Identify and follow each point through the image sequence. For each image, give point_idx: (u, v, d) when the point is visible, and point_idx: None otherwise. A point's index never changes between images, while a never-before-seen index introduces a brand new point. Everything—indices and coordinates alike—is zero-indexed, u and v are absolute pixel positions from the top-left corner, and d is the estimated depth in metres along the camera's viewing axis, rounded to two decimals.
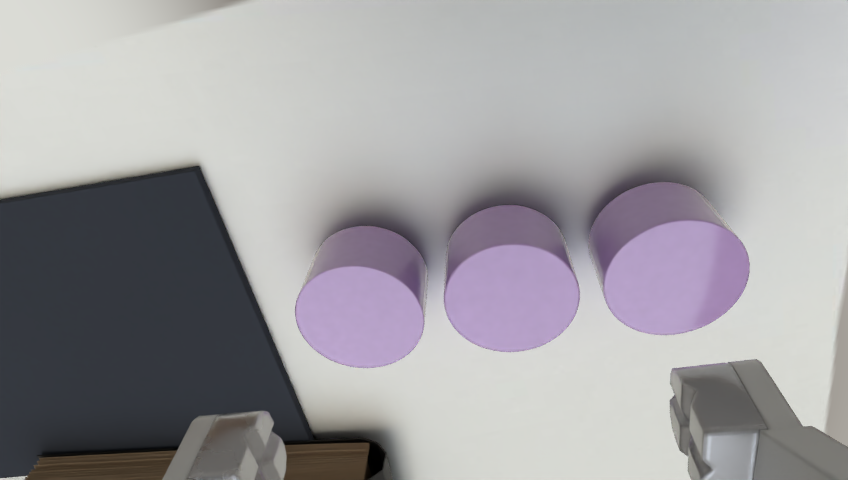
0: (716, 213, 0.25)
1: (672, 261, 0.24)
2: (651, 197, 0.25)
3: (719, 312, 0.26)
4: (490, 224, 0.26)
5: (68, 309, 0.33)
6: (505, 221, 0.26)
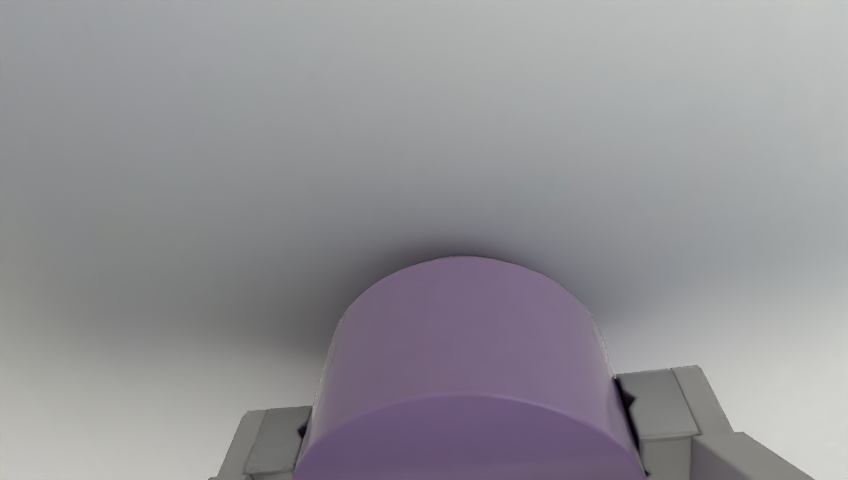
0: (327, 379, 0.10)
1: None
2: None
3: (580, 434, 0.08)
4: None
5: None
6: None
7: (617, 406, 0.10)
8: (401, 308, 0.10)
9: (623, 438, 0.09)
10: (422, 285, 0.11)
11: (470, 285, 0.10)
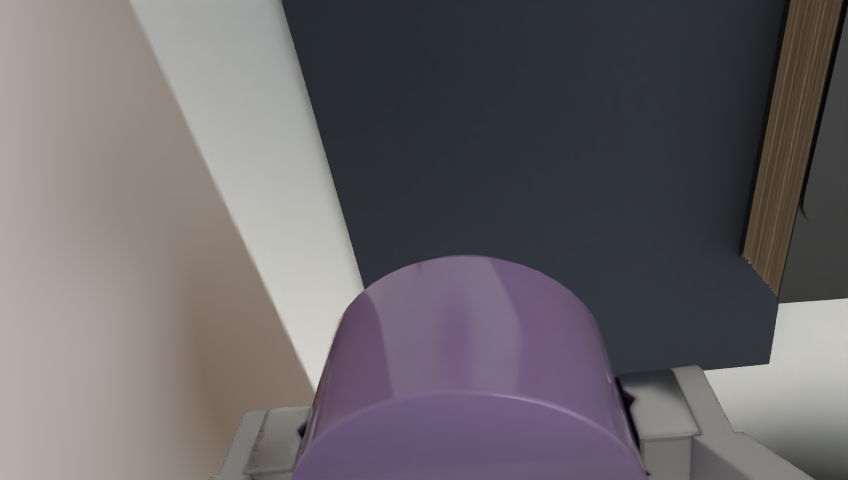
0: (327, 378, 0.10)
1: None
2: None
3: (580, 433, 0.08)
4: None
5: (480, 126, 0.24)
6: None
7: (618, 405, 0.10)
8: (401, 306, 0.10)
9: (624, 437, 0.09)
10: (423, 283, 0.11)
11: (470, 284, 0.10)
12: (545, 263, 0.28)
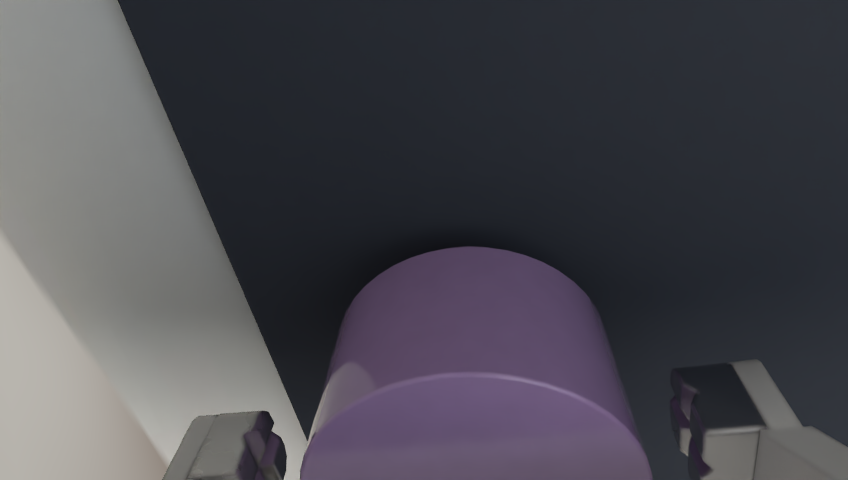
0: (336, 364, 0.11)
1: None
2: None
3: (583, 415, 0.09)
4: None
5: (516, 99, 0.11)
6: None
7: (619, 390, 0.10)
8: (408, 295, 0.11)
9: (625, 419, 0.09)
10: (429, 273, 0.11)
11: (476, 273, 0.11)
12: (637, 372, 0.14)
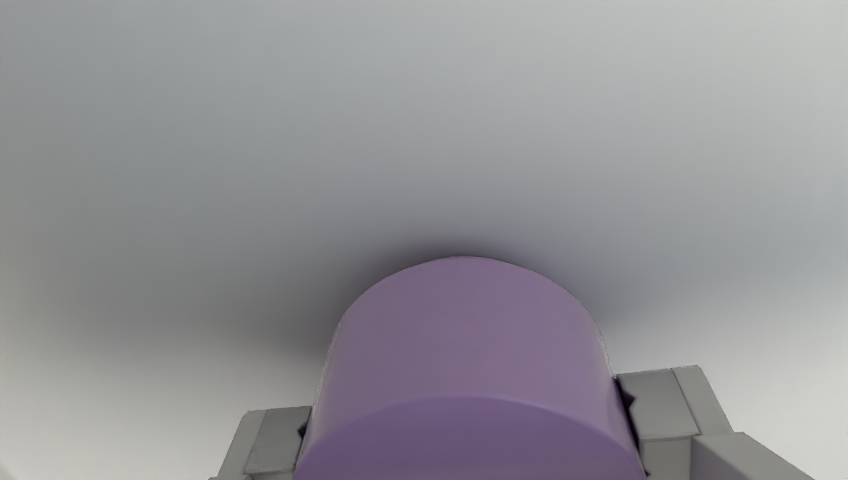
0: None
1: None
2: None
3: None
4: None
5: None
6: None
7: None
8: None
9: None
10: None
11: None
12: None
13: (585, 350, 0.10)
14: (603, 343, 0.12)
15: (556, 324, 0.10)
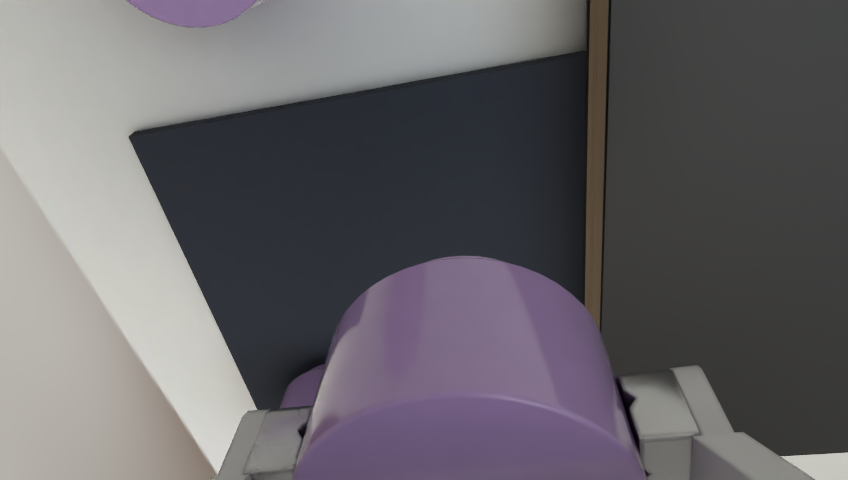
0: None
1: None
2: None
3: None
4: None
5: None
6: None
7: None
8: (305, 389, 0.28)
9: None
10: (314, 380, 0.29)
11: None
12: None
13: (586, 350, 0.10)
14: (603, 343, 0.11)
15: (556, 324, 0.10)
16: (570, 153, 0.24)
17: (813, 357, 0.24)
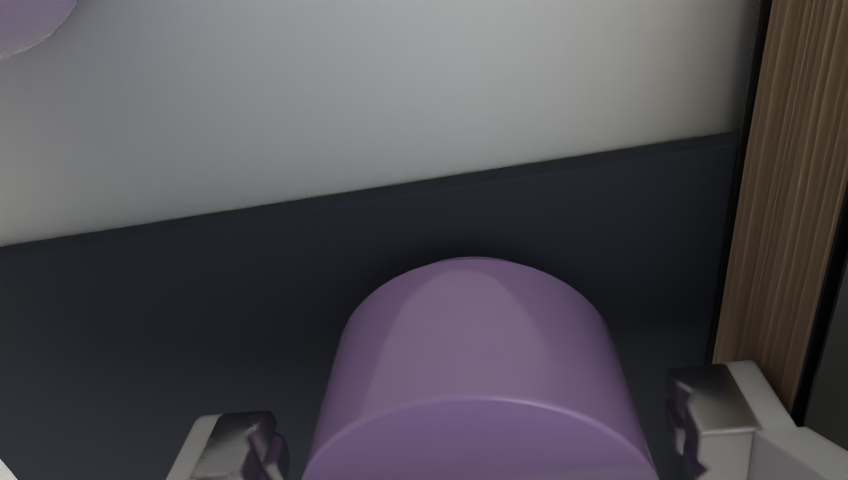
0: None
1: None
2: None
3: None
4: None
5: None
6: None
7: None
8: None
9: None
10: None
11: None
12: None
13: (597, 352, 0.10)
14: (614, 344, 0.11)
15: (568, 325, 0.10)
16: (655, 319, 0.13)
17: None
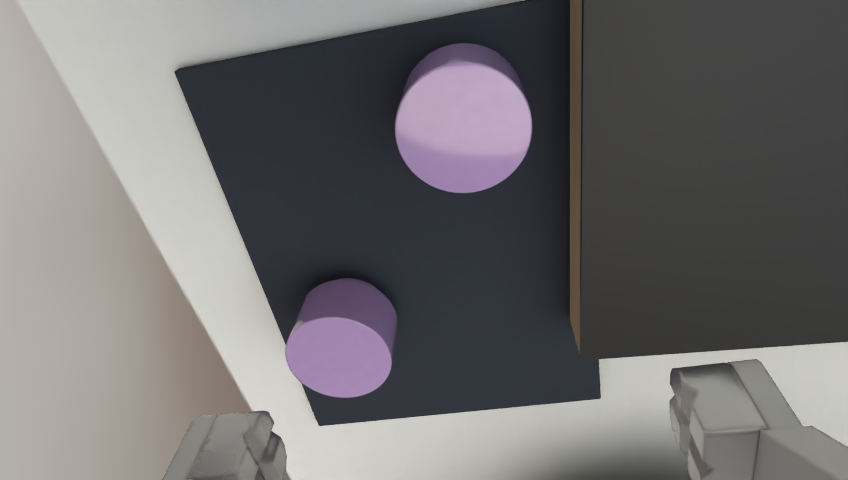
0: (297, 317, 0.33)
1: (321, 363, 0.33)
2: None
3: (363, 329, 0.31)
4: None
5: (356, 231, 0.34)
6: None
7: (382, 324, 0.33)
8: (320, 295, 0.33)
9: (378, 331, 0.32)
10: (328, 288, 0.34)
11: (342, 288, 0.33)
12: (417, 325, 0.37)
13: (509, 69, 0.26)
14: (520, 81, 0.27)
15: (498, 59, 0.26)
16: (543, 83, 0.29)
17: (760, 254, 0.29)
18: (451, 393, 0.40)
